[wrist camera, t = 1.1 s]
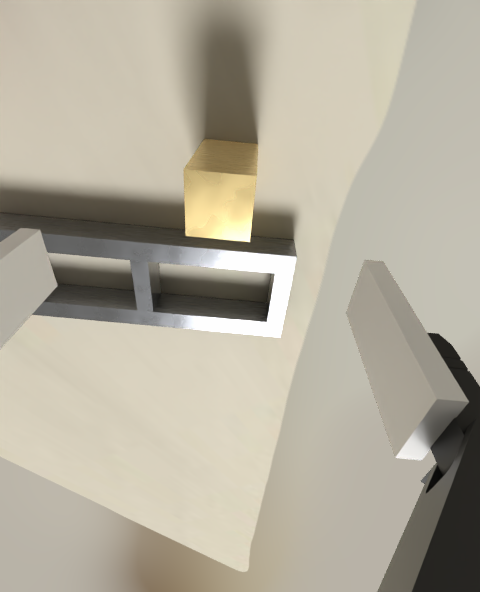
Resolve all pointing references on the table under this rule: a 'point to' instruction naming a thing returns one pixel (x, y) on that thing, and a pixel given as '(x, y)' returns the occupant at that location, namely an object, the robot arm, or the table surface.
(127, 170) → the table surface
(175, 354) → the table surface
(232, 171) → the brushed brass bar
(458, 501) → the robot arm
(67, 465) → the table surface
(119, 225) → the rack frame
